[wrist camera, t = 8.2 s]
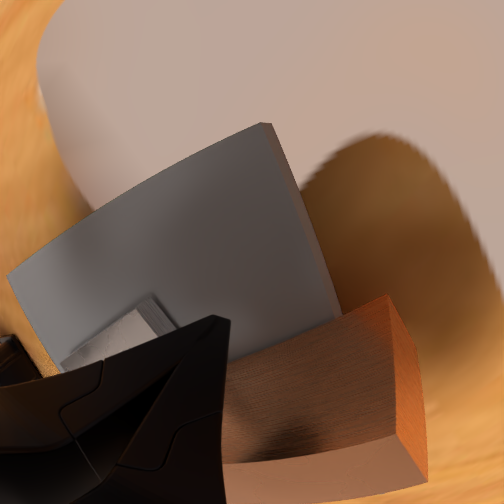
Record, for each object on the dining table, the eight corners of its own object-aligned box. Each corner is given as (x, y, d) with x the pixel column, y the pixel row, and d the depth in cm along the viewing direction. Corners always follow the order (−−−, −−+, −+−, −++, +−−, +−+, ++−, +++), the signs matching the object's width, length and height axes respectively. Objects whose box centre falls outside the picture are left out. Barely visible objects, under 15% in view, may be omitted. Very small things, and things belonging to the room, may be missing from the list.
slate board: (150, 462, 22) (128, 494, 18) (18, 269, 17) (-25, 294, 14) (385, 478, 14) (378, 534, 10) (271, 123, 9) (213, 119, 5)
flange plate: (171, 460, 17) (137, 512, 13) (69, 354, 16) (17, 401, 12) (444, 409, 9) (451, 518, 5) (317, 181, 8) (267, 248, 4)
